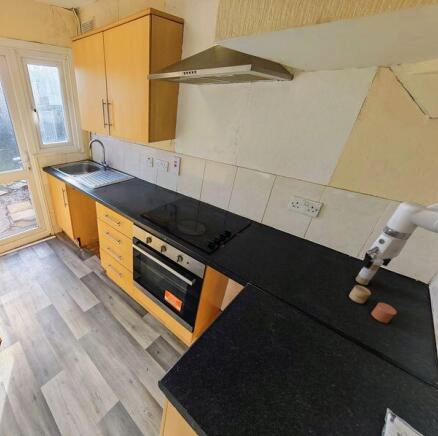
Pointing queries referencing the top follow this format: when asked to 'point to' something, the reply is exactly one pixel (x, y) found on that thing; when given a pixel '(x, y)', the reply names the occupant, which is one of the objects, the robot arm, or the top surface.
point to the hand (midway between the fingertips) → (373, 265)
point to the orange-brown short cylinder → (383, 312)
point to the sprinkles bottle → (369, 272)
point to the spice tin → (359, 294)
